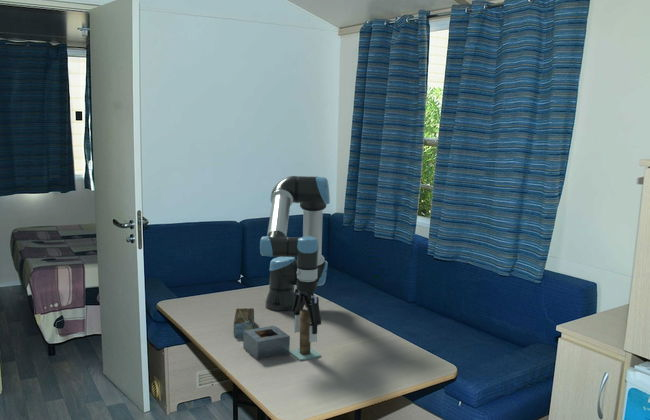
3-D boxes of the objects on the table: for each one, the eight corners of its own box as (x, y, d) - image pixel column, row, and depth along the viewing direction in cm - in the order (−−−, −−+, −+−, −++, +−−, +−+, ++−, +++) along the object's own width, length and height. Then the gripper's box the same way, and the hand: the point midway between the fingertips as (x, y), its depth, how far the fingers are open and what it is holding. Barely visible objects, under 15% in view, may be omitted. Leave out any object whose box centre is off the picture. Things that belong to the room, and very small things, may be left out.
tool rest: (309, 348, 230) (309, 347, 229) (321, 356, 222) (321, 355, 222) (288, 352, 225) (288, 350, 225) (300, 361, 217) (300, 359, 217)
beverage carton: (232, 337, 239) (232, 321, 238) (235, 321, 258) (235, 307, 257) (252, 337, 240) (253, 321, 239) (254, 321, 259) (254, 307, 258)
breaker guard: (274, 342, 234) (274, 325, 233) (289, 354, 223) (289, 336, 222) (243, 348, 228) (243, 330, 227) (257, 360, 217) (257, 341, 216)
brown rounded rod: (307, 350, 226) (307, 309, 224) (312, 353, 223) (312, 312, 220) (297, 352, 224) (298, 310, 222) (302, 355, 221) (303, 313, 218)
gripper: (283, 272, 227) (282, 328, 230) (313, 288, 207) (312, 348, 211) (300, 270, 231) (299, 325, 234) (332, 286, 211) (330, 345, 214)
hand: (305, 336), depth 222 cm, fingers open, 11 cm apart
